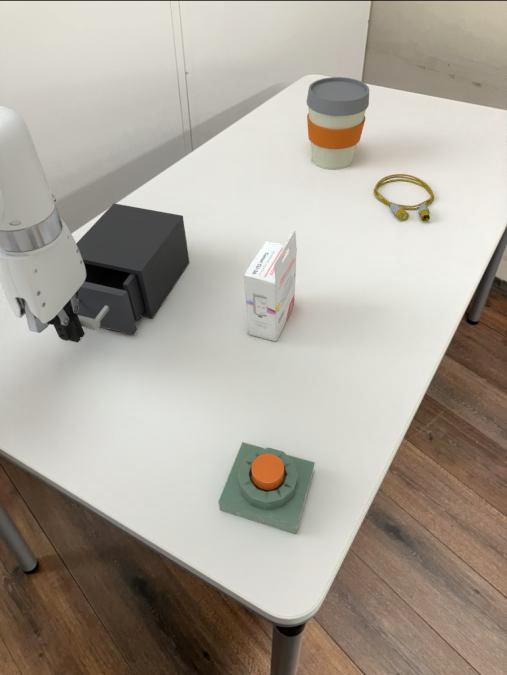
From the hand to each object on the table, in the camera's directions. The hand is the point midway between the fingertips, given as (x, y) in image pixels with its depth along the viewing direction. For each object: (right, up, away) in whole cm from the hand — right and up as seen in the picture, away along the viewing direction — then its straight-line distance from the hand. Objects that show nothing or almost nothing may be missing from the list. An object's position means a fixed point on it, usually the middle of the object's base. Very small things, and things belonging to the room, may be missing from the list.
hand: (72, 336), depth 71 cm
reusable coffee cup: (+43, +39, +42) cm, 72 cm away
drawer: (+3, +5, +10) cm, 11 cm away
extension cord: (+55, +27, +30) cm, 68 cm away
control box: (+27, -18, -11) cm, 34 cm away
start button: (+27, -16, -14) cm, 34 cm away
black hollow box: (+6, +9, +15) cm, 18 cm away
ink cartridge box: (+28, +2, +8) cm, 29 cm away
